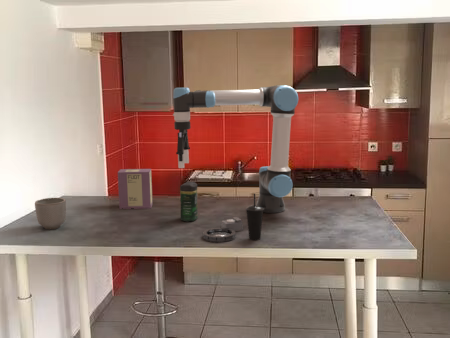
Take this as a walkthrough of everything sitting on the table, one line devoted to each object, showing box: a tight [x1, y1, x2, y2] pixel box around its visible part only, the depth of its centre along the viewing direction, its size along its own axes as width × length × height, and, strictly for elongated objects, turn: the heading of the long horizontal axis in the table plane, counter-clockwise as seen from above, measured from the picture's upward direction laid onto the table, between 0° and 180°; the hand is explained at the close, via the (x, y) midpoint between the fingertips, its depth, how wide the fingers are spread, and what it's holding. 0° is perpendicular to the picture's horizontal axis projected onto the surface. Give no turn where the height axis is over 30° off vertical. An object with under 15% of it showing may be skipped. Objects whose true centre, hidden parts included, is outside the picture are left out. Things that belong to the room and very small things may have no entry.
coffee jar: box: [179, 181, 199, 222], centre depth 258 cm, size 10×8×19 cm
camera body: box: [221, 216, 244, 232], centre depth 241 cm, size 8×6×5 cm
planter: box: [34, 197, 67, 231], centre depth 247 cm, size 14×14×13 cm
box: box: [117, 168, 153, 210], centre depth 284 cm, size 17×9×20 cm, turn 92°
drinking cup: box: [245, 193, 264, 241], centre depth 226 cm, size 8×8×20 cm
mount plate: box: [202, 227, 237, 243], centre depth 230 cm, size 14×14×2 cm
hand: (183, 165), depth 250 cm, fingers open, 13 cm apart
